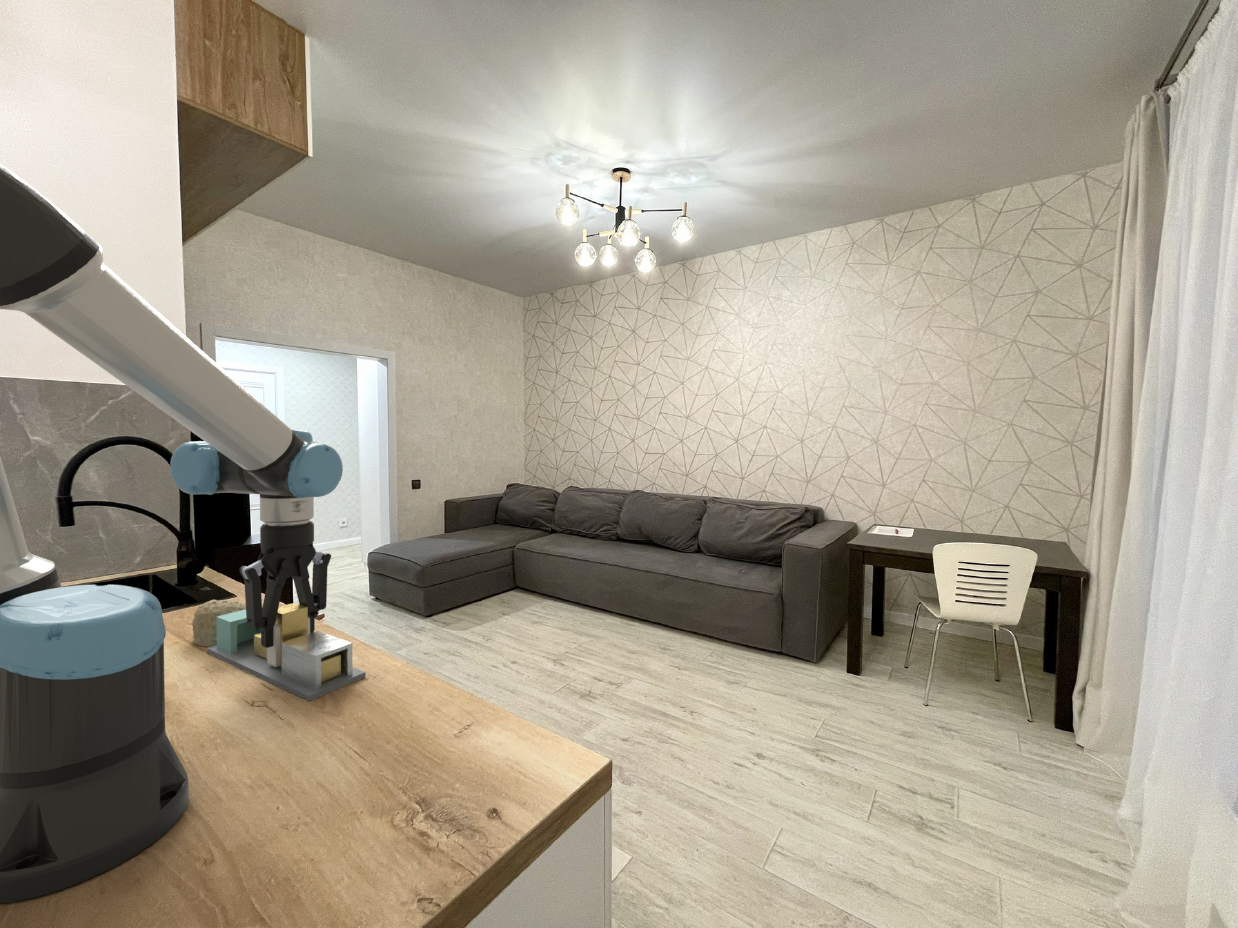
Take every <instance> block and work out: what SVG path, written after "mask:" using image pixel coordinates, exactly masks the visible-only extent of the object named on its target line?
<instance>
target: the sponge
mask: <svg viewBox="0 0 1238 928" xmlns="http://www.w3.org/2000/svg"><path fill="white" fill-rule="evenodd" d="M245 609H246V603H243V602H239V601H238V600H237V601H235V600H224V599H222V600H217V599H211V600H209V601H206V602H204V603H202V604H199V605H198V606H197V608H196V611H195V612H194V614H193V615H194V616H193V618H192V632H193V637H192V638H193V643H194V644H196V645H198V646H200V647H201V646H202V647H213V646H216V645H217V620H216V617H217V616H221V615H225V614H229V613H233V612H237V611H241V610H245Z"/></svg>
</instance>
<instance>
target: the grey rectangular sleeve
mask: <svg viewBox="0 0 1238 928" xmlns="http://www.w3.org/2000/svg"><path fill="white" fill-rule="evenodd" d="M333 653H337V654H340V655H341V674H343V675H345V676H350V675H352V667H353V642H351V641H348V640H345V639H342V638H339V637H336V636H334V635H331V634H329V633H325V632H322V631H319V630H317V631H314V632H313V633H310V634H307V635H304V636H301V637H297V638H294V639H291V640H288V641H285V642H282V674H283V675H285V676H287V677H289V678H291V679H294V680H296V681H298V682H300V683H302V684H305V685H307V686H309V687H311V688H313V689H319V688H321V658H323V657H325V656H328V655H331V654H333Z"/></svg>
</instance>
